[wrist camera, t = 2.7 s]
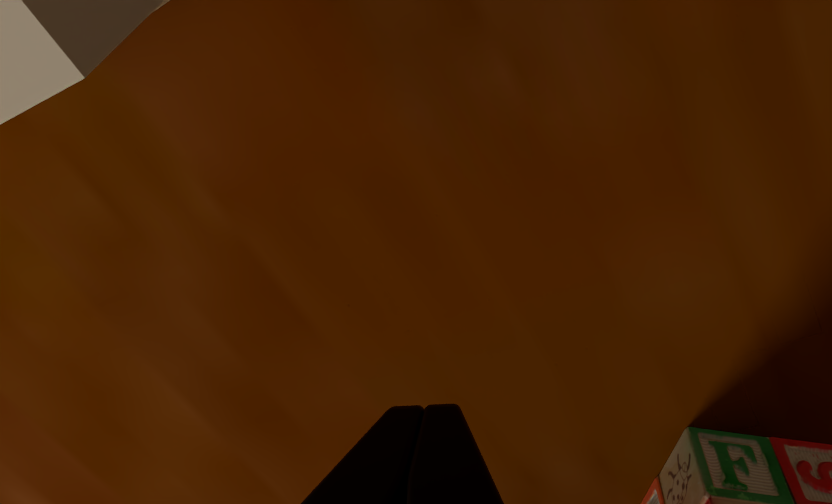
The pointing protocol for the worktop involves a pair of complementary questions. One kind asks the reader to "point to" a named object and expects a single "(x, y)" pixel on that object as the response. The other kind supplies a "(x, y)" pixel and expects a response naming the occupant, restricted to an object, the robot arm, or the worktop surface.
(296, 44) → the worktop surface
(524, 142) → the worktop surface
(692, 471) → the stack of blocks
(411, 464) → the robot arm
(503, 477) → the worktop surface
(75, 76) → the slab
